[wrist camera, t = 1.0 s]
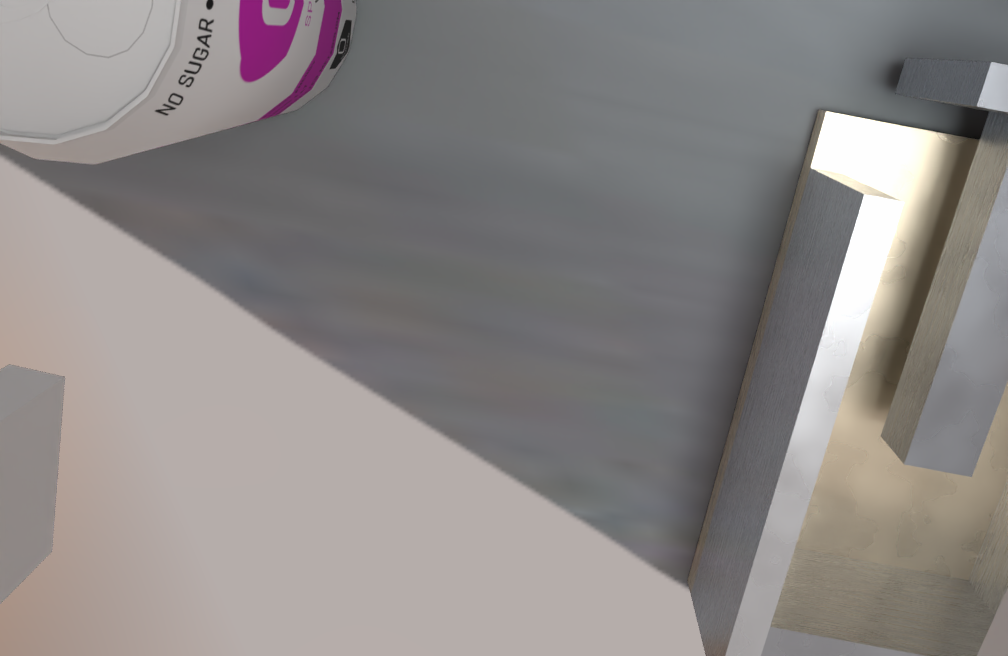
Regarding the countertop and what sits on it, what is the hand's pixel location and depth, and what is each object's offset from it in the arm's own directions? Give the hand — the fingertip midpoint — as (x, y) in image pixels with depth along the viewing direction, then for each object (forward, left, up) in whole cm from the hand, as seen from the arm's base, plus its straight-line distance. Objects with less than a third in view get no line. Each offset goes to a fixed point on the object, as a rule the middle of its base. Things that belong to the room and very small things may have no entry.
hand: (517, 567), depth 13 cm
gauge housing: (+4, +15, -23) cm, 28 cm away
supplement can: (-6, -12, -24) cm, 27 cm away
